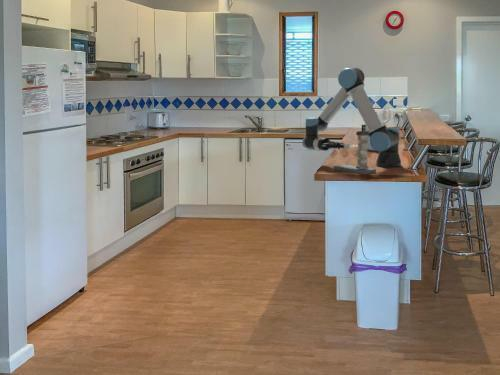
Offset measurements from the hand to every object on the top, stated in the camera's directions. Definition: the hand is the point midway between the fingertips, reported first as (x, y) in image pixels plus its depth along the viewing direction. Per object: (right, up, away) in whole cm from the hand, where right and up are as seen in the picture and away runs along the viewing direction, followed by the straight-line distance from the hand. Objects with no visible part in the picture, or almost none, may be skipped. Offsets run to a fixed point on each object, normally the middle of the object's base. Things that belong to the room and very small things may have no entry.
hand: (348, 146), depth 421 cm
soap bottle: (+31, +3, +99) cm, 104 cm away
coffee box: (+32, +7, +124) cm, 128 cm away
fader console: (+3, -14, -1) cm, 15 cm away
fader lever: (+7, -13, -7) cm, 16 cm away
